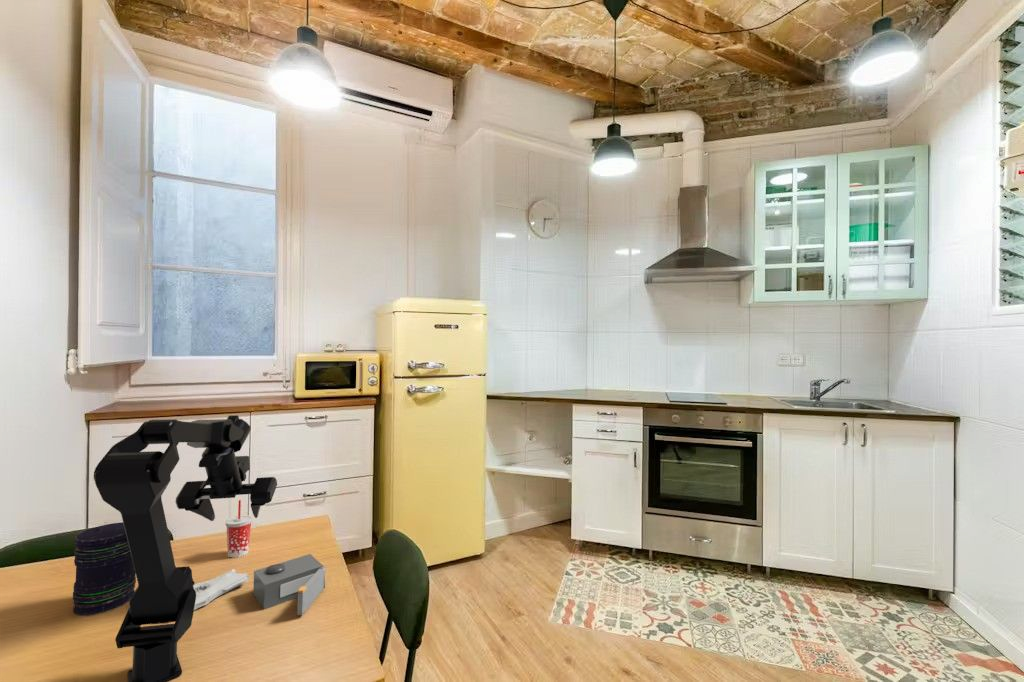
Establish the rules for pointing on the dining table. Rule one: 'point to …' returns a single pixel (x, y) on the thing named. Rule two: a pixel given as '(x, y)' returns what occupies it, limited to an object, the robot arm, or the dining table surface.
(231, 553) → the beverage cup
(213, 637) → the dining table surface
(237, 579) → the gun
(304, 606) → the side door
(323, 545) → the dining table surface
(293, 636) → the dining table surface
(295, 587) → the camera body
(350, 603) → the dining table surface
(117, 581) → the dark blue cylinder
